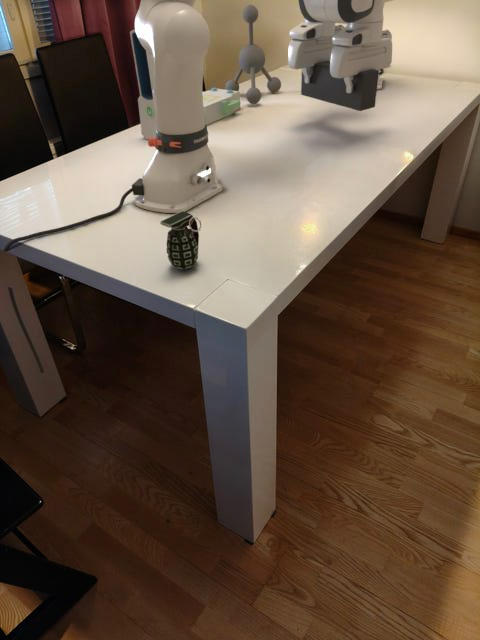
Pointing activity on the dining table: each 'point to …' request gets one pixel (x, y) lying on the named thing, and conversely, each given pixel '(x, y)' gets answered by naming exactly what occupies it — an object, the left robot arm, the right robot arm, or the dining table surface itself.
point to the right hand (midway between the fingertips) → (317, 80)
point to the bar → (341, 87)
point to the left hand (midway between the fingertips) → (359, 90)
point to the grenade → (182, 240)
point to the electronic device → (145, 87)
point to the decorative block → (219, 104)
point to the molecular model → (252, 62)
